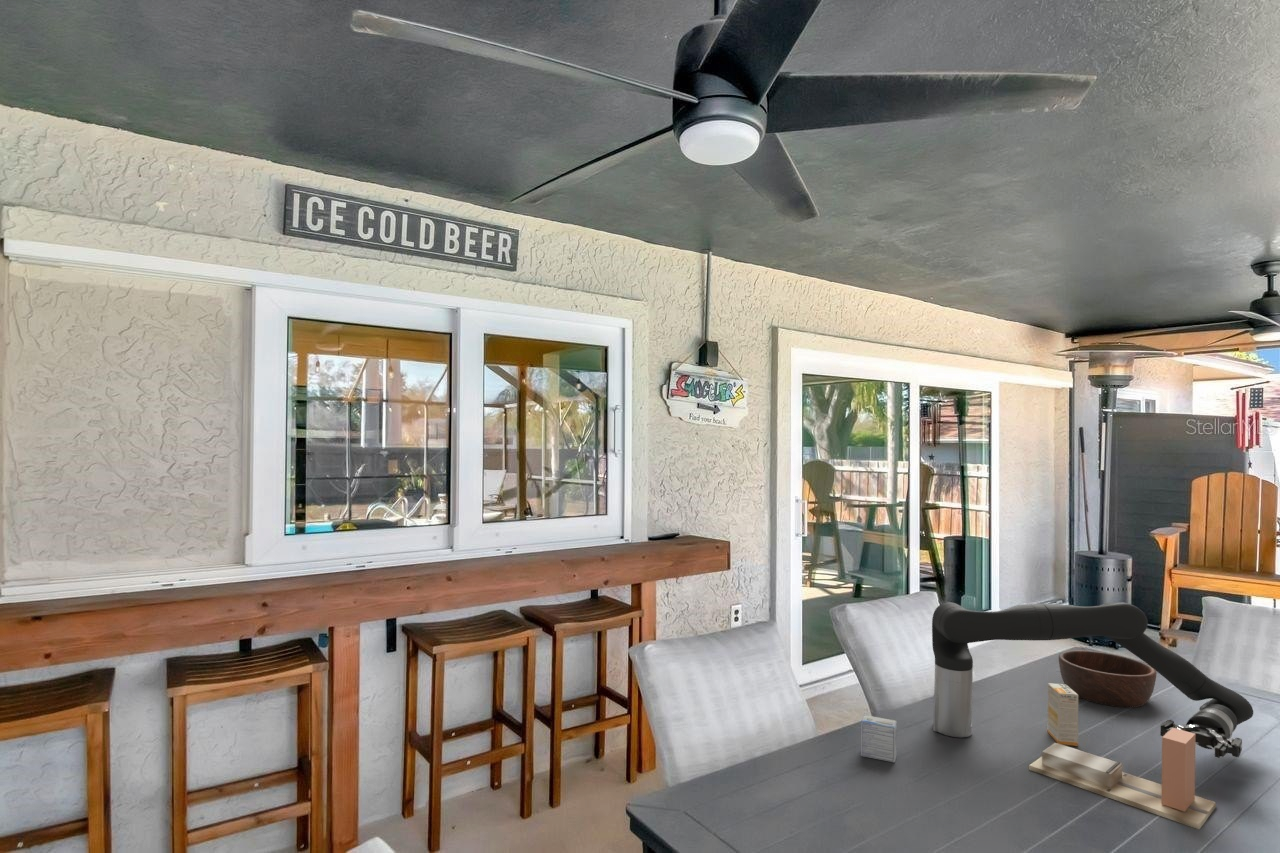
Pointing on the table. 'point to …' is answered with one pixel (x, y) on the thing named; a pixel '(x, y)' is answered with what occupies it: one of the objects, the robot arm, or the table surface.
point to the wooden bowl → (1107, 678)
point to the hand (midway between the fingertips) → (1192, 746)
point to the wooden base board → (1115, 783)
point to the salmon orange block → (1178, 769)
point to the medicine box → (879, 738)
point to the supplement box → (1062, 714)
